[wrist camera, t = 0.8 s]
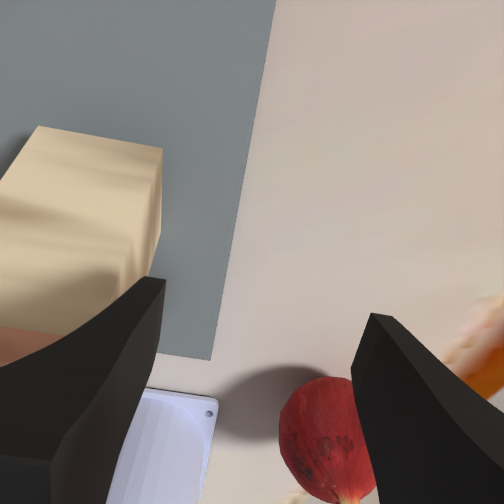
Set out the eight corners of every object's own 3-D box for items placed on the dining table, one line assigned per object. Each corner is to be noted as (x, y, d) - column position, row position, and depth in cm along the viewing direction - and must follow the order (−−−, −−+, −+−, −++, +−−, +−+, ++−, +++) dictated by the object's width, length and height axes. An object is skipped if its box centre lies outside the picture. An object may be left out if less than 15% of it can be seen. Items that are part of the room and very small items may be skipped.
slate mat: (211, 355, 27) (210, 360, 26) (-152, 299, 25) (-160, 305, 25) (284, -51, 18) (285, -53, 17) (-273, -173, 16) (-289, -179, 16)
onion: (260, 403, 28) (262, 534, 21) (301, 333, 26) (318, 454, 19) (344, 430, 29) (373, 564, 22) (392, 365, 27) (440, 492, 20)
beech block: (161, 231, 22) (100, 439, 16) (57, 214, 22) (-50, 419, 15) (162, 148, 19) (84, 373, 12) (38, 125, 18) (-113, 344, 12)
